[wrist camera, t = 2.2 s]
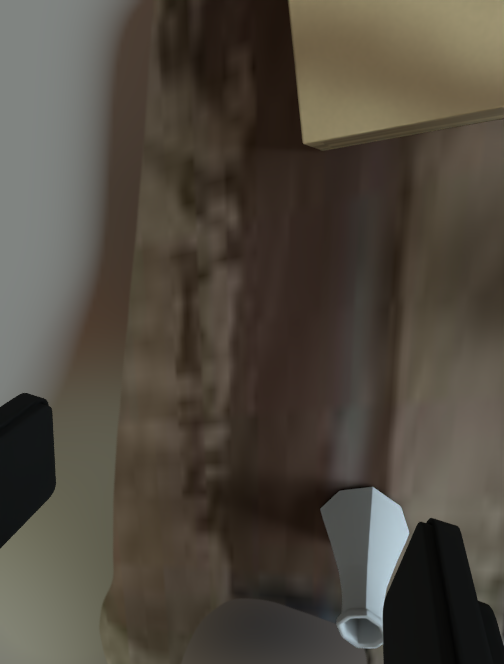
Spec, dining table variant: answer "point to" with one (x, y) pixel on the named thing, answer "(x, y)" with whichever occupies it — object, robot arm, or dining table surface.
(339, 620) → the flask
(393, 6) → the cabinet
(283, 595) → the dining table surface
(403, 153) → the dining table surface
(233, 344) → the dining table surface
